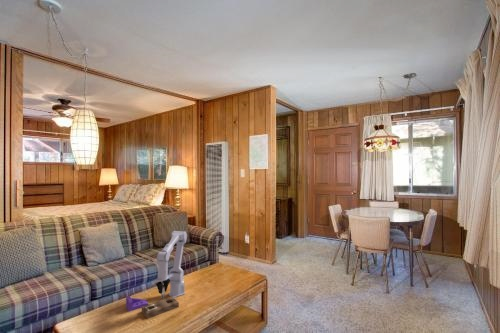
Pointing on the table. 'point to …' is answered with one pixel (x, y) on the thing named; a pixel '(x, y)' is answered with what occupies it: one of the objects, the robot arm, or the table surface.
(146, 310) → the board
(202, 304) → the table surface
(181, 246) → the robot arm
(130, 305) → the bracket
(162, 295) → the pin
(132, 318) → the table surface
